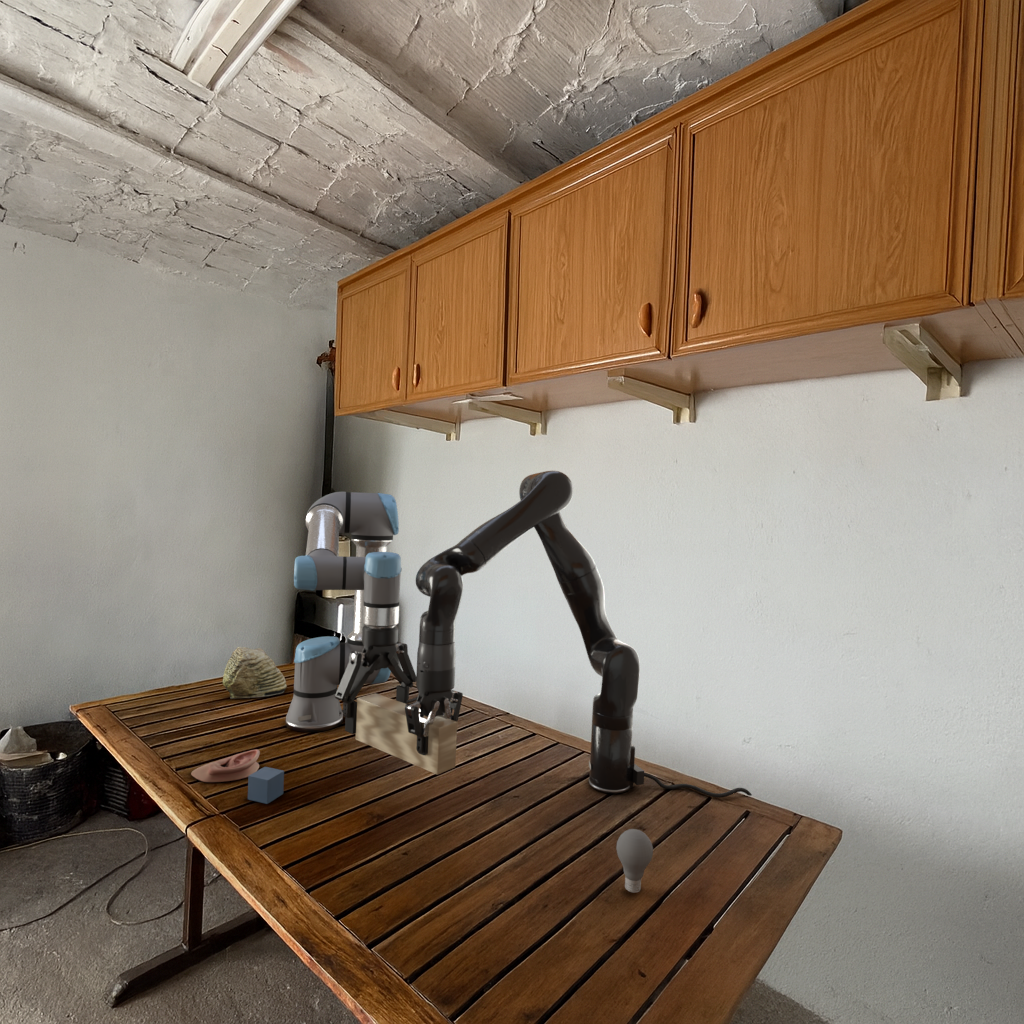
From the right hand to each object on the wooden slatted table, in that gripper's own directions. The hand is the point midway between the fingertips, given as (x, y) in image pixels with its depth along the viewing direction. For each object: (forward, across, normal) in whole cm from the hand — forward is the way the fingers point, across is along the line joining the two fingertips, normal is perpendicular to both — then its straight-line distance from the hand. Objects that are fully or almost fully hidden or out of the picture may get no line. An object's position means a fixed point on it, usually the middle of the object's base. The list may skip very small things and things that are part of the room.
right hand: (433, 749), depth 125 cm
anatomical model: (+14, +16, -49) cm, 54 cm away
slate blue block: (+14, +16, -33) cm, 39 cm away
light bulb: (+15, -8, +40) cm, 44 cm away
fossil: (+14, -17, -96) cm, 99 cm away
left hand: (-1, 0, -17) cm, 17 cm away
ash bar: (+3, 0, -9) cm, 9 cm away
